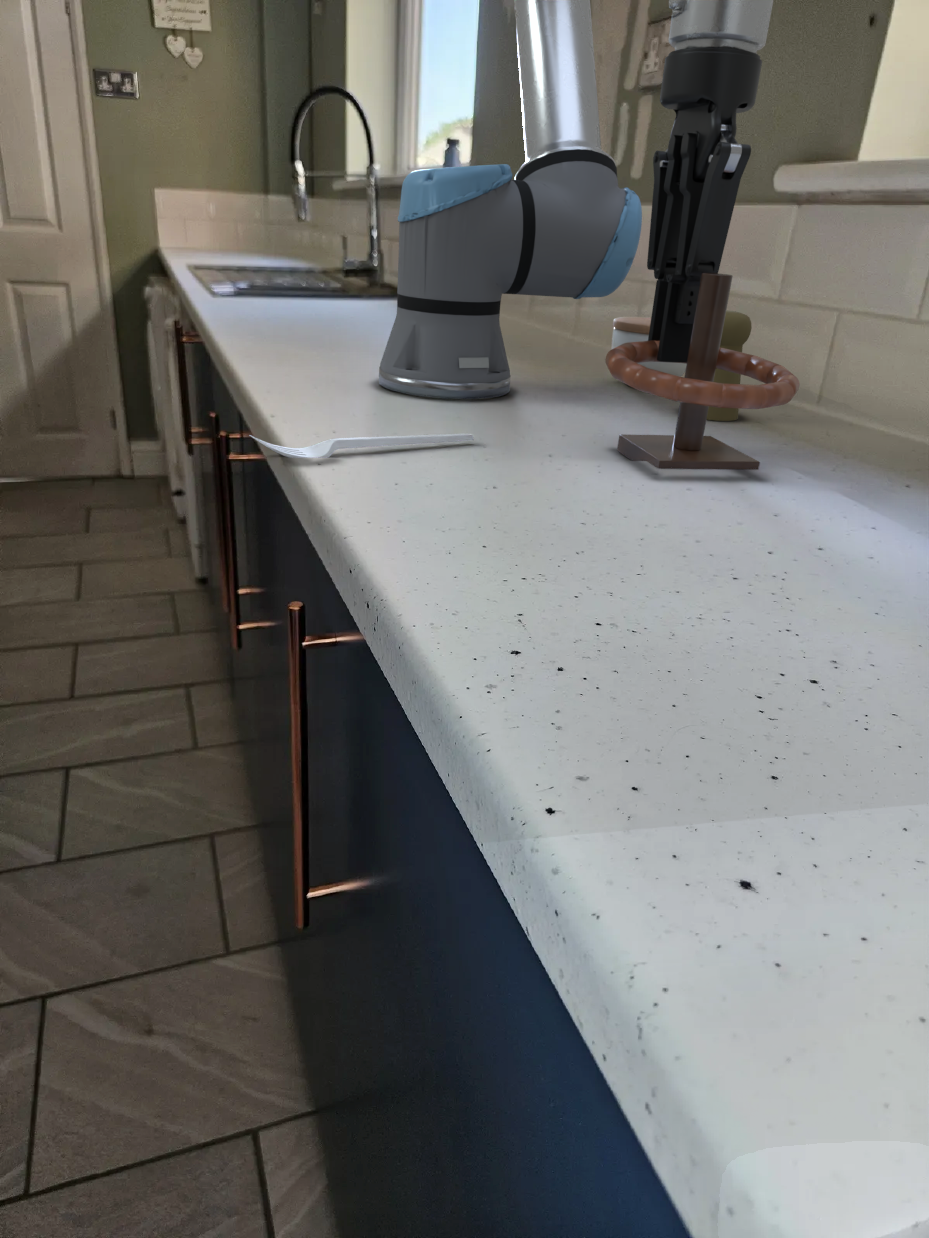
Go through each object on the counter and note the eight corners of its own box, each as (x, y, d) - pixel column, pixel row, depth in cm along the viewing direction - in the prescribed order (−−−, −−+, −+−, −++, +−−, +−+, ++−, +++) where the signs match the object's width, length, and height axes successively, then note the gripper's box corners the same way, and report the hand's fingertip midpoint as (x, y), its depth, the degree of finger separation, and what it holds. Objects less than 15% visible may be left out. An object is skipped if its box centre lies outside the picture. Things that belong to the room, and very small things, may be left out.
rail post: (616, 450, 79) (642, 267, 72) (707, 451, 81) (740, 273, 74) (656, 478, 71) (690, 275, 64) (756, 479, 73) (798, 281, 66)
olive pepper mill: (740, 423, 94) (761, 316, 89) (683, 417, 95) (701, 311, 90) (735, 412, 99) (755, 311, 95) (682, 407, 100) (699, 306, 96)
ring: (579, 355, 78) (582, 334, 77) (740, 363, 81) (745, 343, 80) (644, 408, 65) (649, 384, 64) (833, 414, 68) (841, 392, 67)
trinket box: (596, 375, 117) (605, 301, 113) (673, 379, 118) (684, 306, 115) (617, 390, 107) (628, 310, 104) (701, 394, 109) (714, 315, 105)
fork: (481, 448, 76) (483, 426, 76) (262, 467, 66) (261, 443, 66) (462, 439, 79) (463, 418, 78) (247, 456, 69) (247, 433, 68)
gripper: (634, 60, 74) (599, 346, 84) (714, 29, 61) (661, 372, 71) (714, 70, 76) (670, 349, 86) (809, 41, 63) (744, 374, 73)
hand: (666, 358), depth 78 cm, fingers closed on ring, 2 cm apart
